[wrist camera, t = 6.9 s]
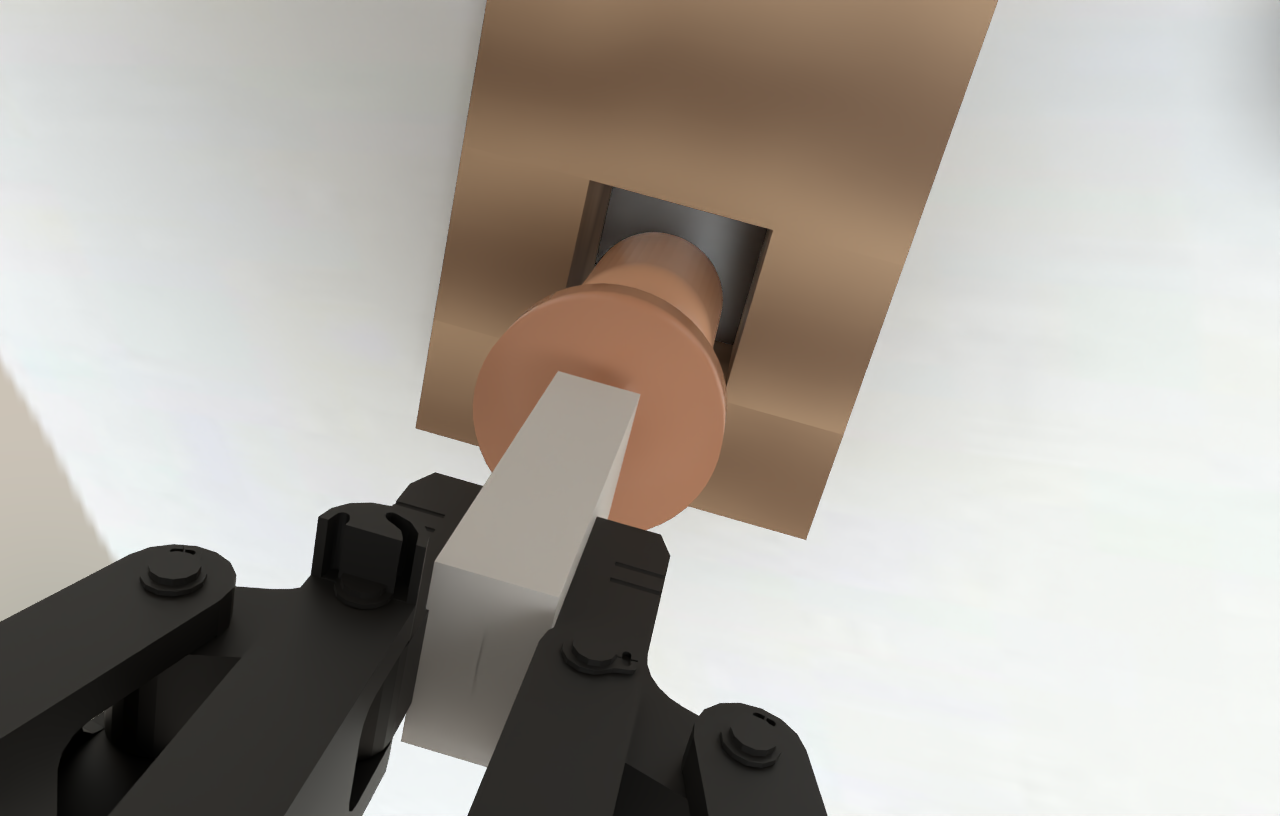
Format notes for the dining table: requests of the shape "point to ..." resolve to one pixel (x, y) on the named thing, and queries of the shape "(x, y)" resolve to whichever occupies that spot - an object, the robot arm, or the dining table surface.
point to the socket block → (709, 194)
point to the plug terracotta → (624, 368)
